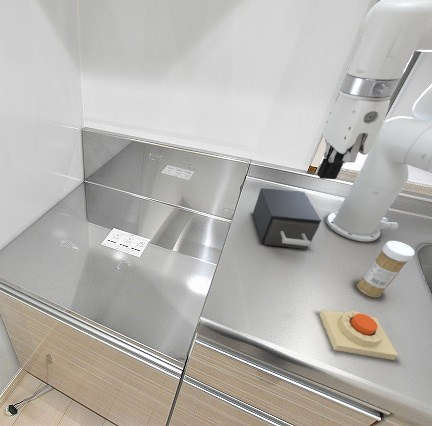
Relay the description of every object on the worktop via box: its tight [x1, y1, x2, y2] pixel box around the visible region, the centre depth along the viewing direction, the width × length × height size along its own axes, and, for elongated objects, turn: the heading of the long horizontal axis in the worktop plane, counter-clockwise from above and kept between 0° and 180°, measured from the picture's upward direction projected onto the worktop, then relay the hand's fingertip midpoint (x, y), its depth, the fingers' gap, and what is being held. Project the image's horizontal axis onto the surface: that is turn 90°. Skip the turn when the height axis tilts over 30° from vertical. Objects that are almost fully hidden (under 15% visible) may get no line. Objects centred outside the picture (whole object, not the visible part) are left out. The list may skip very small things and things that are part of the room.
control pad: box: [318, 309, 399, 361], centre depth 57 cm, size 10×8×4 cm
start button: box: [350, 313, 378, 335], centre depth 56 cm, size 4×4×2 cm
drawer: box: [264, 219, 320, 250], centre depth 79 cm, size 17×10×8 cm, turn 168°
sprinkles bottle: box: [356, 240, 416, 298], centre depth 63 cm, size 5×5×13 cm
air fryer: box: [252, 187, 322, 245], centre depth 82 cm, size 14×12×10 cm
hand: (326, 176), depth 62 cm, fingers closed
